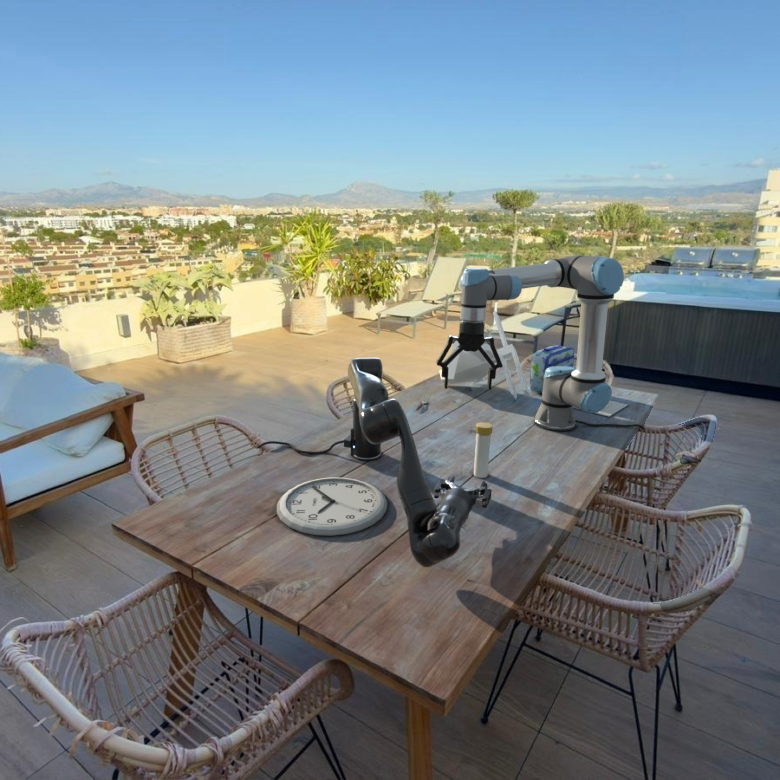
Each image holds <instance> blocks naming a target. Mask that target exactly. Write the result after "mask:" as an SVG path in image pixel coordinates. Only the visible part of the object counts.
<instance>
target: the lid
mask: <svg viewBox="0 0 780 780" xmlns="http://www.w3.org/2000/svg"><path fill="white" fill-rule="evenodd" d="M492 433H493V424H491V423H489V422H483V421H481V422H477V423H476V424H475V434H476V435H477V434H480V435H490V434H491V435H492Z"/></svg>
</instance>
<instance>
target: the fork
mask: <svg viewBox="0 0 780 780" xmlns="http://www.w3.org/2000/svg"><path fill="white" fill-rule="evenodd" d="M429 400H430V397H429V396H426V395H424V396H423V398H422V401H421V403H420V404H418V406H417V408H416V409H415V411H418V410H419V409H421V408H422V407H423V405H424V404H428V403H429Z"/></svg>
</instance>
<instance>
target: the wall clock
mask: <svg viewBox="0 0 780 780" xmlns="http://www.w3.org/2000/svg"><path fill="white" fill-rule="evenodd" d="M387 509H388V500H387V498H386V496H385V494H384V493H383V492H382V491H381V490H380V489H379V488H377V487H376V486H374V485H372V484H371V483H369V482H365V481H362V480H359V479H355V478H349V477H338V476H337V477H335V476H333V477H332V476H331V477H322V478H317V479H312V480H307V481H305V482H302V483H299V484H297V485H295V486H293V487H292V488H290V489H288V490H287V491H286V492H285V493H284V494H283V495H281V496H280V498H279V499H278V502H277V503H276V515H277V517H278V518H279V520H280V521H281V522H282V523H283V524H285V525H286V526H287V527H288V528H290V529H293V530H295V531H297V532H299V533H303V534H308V535H312V536H327V537H328V536H329V537H331V536H332V537H333V536H342V535H350V534H352V533H356V532H361V531H363V530H366V529H368V528H369V527H372V526H373V525H375V524H376V523H378V522H379V521H380V520H381V519H382V518H383V517H384V516H385V514H386V512H387Z"/></svg>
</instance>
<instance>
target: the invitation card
mask: <svg viewBox="0 0 780 780" xmlns="http://www.w3.org/2000/svg"><path fill="white" fill-rule="evenodd" d="M628 406H629V404H627V403H623V402H618V401H614V400H610V401H609V403H608V404H607V405H606V406H605V408H604V409H602V410H601V411H599V412H597V413H595V414H596V415H600V416H604V417H608V418H609V417H611V416H613V415H614V414H616V413H617V412H619V411H621V410H623V409H624V408H626V407H628ZM573 409H575V410H581V409H578V408H576V407H573ZM581 411H582V410H581Z"/></svg>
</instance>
